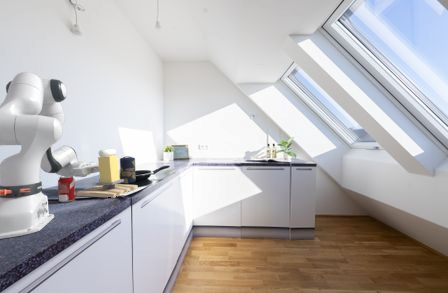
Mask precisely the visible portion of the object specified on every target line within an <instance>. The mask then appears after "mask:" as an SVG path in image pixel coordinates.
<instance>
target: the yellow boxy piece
mask: <svg viewBox="0 0 448 293" xmlns="http://www.w3.org/2000/svg"><path fill="white" fill-rule="evenodd" d="M97 159H98V162H97V163H99V172H98V173H99V179H98V182H97V183H95V185H96V186H99V185H113V184H120V183H121V182H123V181H124V179H120V165H119V157H118V155H117V150H116V149H114V148H112V149H111V148H109V149H100V150H99V151H98V157H97Z"/></svg>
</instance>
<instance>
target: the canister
mask: <svg viewBox="0 0 448 293" xmlns="http://www.w3.org/2000/svg"><path fill="white" fill-rule="evenodd" d="M119 177H120V179H124V181H123V182H120V183H121V184H133V183H135V182H136V178H137V177H136V158H135V157H134V156H130V155H129V156H128V155H125V156H123V157H121V158H119Z"/></svg>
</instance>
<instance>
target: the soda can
mask: <svg viewBox="0 0 448 293" xmlns="http://www.w3.org/2000/svg"><path fill="white" fill-rule="evenodd" d="M57 189H58V190H57V191H58V193H57V195H58V202H59V203H65V204H66V203H71V202H73V201H75V200H76V179H75V178H74V176H61V175H60V176H59V179H57Z"/></svg>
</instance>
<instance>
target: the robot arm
mask: <svg viewBox="0 0 448 293" xmlns="http://www.w3.org/2000/svg"><path fill="white" fill-rule="evenodd" d="M5 91H6V96H5V97H4V100H3V102H2V103H0V146H20V147H21V148H20V150H19V152H17V153H15V154H13V155H10V156H8V157H6V158H4V159H2V161H1V162H0V240H2V239H9V238H14V237H19V236H20V237H21V236H25V235H30V234H34V233H36V232H39V231H41V230H42V229H43V228H44V227H45V226H46V225H48V224H49V223H50V222H51V221H52V220H53V219H54V218H55V215H54V213H49V201H48V200H49V199H48V196H47V195H46V194H44V193H43V182H42V181H41V170H42V171H43V172H45V173H48V174H56V175H58V176H60V177H61V176H73V177H76V178H77V177H78V178H85V177H87V176H90V175H91V174H95V173H99V162H95V161H91V162H90V161H86V160H85V161H82V160H81V161H78V155H77V152H76V150H75V149H74V148H73V147H71V146H69V145H63V146H60V147H59V148H57V149H55V150H54V147H53V145H54V144H56V143H57V142H59V141H60V139H62V136H63V132H64V130H63V125H64V123H65V119H66V118H65V113H64V110H63V106H62V104H61V102H63V101H65V100H66V98H67V93H68V92H67V89H66V86H65V84H64V83H63V81H61V80H59V79H56V78H51V79H45V78H44V79H43V78H40V76H38V75H36V74H35V73H32V72H28V71H23V72H20V73H17V74H15V76H14V77H13V79H12V80H10V81H8V83H7V84H6V85H5Z"/></svg>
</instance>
